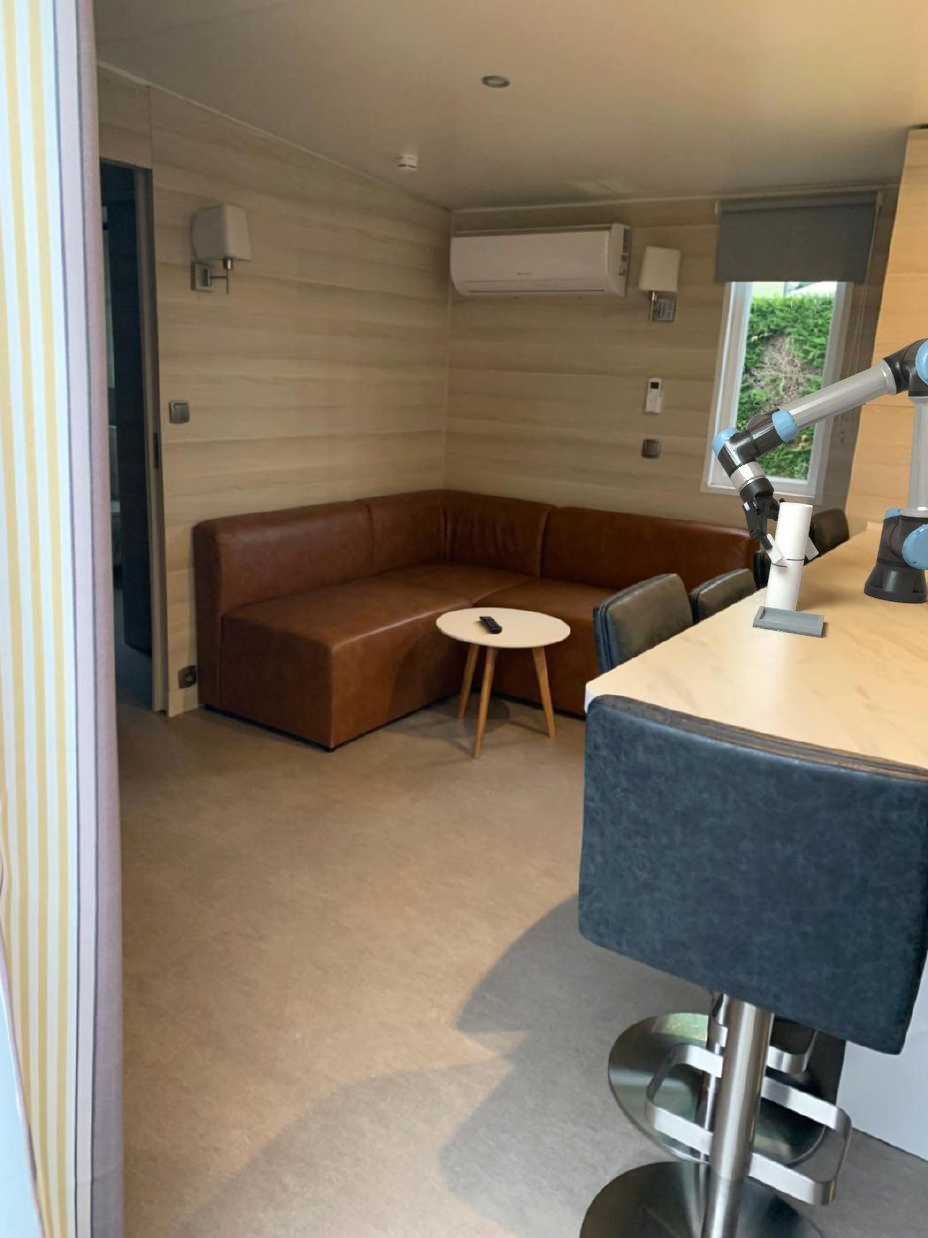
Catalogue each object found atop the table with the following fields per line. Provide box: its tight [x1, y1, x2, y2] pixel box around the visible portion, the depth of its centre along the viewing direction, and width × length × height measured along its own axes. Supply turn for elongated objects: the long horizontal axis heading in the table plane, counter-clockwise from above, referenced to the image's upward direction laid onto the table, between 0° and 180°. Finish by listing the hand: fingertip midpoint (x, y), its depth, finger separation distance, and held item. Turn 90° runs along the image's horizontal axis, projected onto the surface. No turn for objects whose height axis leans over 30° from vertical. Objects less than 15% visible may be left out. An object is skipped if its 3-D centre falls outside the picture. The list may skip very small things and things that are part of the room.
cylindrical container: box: [764, 501, 814, 611], centre depth 209 cm, size 7×7×25 cm
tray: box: [752, 605, 825, 638], centre depth 198 cm, size 14×14×2 cm
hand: (796, 558), depth 208 cm, fingers open, 13 cm apart
